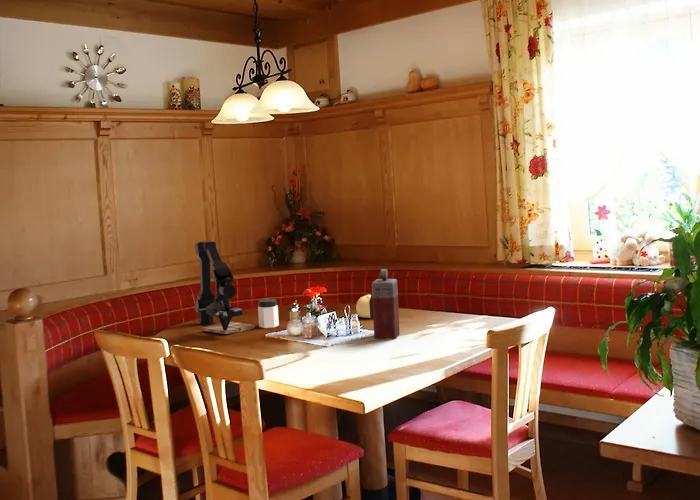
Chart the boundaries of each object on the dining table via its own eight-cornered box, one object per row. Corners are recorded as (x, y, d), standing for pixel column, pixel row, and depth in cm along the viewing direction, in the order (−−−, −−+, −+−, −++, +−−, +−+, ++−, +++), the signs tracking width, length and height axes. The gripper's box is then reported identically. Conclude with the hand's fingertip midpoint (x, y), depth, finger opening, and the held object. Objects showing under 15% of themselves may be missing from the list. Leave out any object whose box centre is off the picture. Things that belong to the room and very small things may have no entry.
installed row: (216, 328, 351) (216, 325, 351) (231, 324, 358) (231, 321, 357) (240, 331, 341) (239, 328, 340) (254, 328, 347) (254, 324, 347)
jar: (282, 325, 349) (280, 299, 348) (267, 329, 344) (265, 302, 343) (271, 323, 356) (269, 297, 355) (256, 326, 351) (254, 300, 349)
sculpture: (382, 319, 353) (381, 295, 352) (356, 320, 354) (355, 297, 352) (382, 314, 365) (381, 291, 364) (356, 315, 365) (355, 293, 364)
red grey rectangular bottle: (373, 333, 323) (370, 267, 320) (399, 334, 320) (396, 267, 317) (368, 338, 314) (365, 270, 311) (395, 339, 311) (392, 270, 308)
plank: (201, 330, 344) (201, 327, 344) (215, 328, 351) (215, 325, 350) (225, 334, 334) (225, 331, 334) (239, 331, 340) (239, 328, 340)
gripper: (194, 296, 335) (197, 331, 337) (222, 299, 323) (225, 336, 325) (214, 292, 343) (216, 327, 345) (242, 295, 331) (244, 331, 333)
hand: (225, 330), depth 337 cm, fingers closed, pressing on plank
